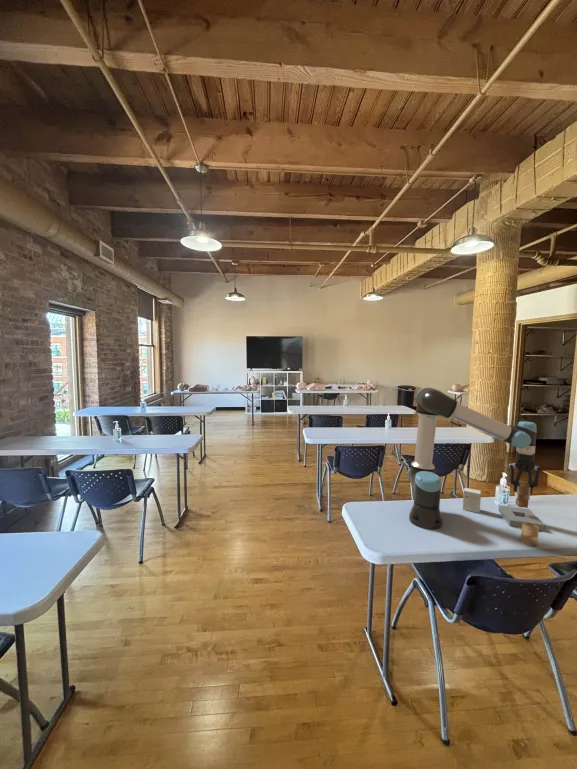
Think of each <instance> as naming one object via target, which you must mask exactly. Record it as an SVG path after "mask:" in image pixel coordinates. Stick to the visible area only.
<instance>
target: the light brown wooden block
mask: <svg viewBox="0 0 577 769" xmlns="http://www.w3.org/2000/svg"><path fill="white" fill-rule="evenodd" d="M539 533H540V532H539V527H538V526H537V525H535V524H532V523H528V522H523V523H522V528H521V536H520V542H521V544H523V545H525V546H527V547H531V548H536V547H538V545H539V544H538V543H539Z"/></svg>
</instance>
